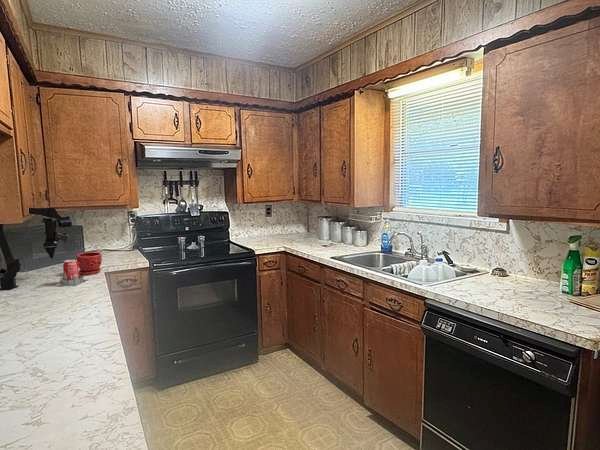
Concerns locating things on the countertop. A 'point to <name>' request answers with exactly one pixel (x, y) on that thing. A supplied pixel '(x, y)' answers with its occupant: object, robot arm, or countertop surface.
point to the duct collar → (71, 281)
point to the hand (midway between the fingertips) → (52, 256)
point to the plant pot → (89, 263)
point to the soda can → (70, 270)
